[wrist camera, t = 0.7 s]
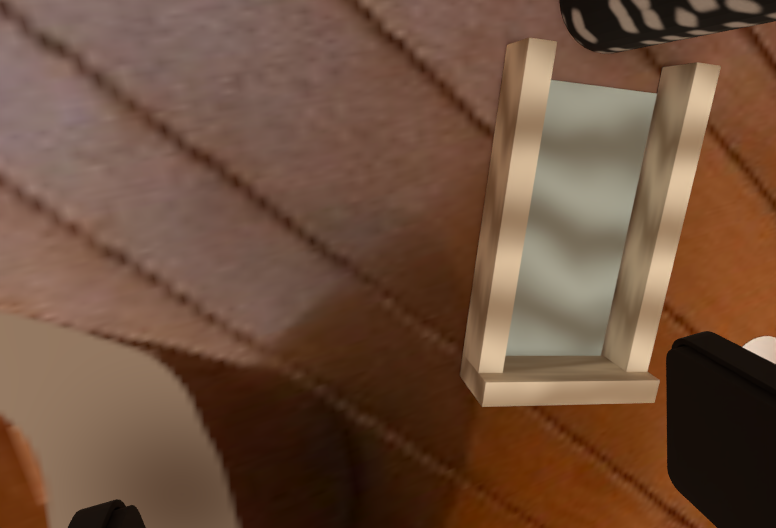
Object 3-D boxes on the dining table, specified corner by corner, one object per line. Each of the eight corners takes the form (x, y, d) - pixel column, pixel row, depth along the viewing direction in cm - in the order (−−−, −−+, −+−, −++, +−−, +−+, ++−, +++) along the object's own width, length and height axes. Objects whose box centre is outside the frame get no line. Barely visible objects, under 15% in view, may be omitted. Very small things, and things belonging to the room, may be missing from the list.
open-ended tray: (506, 44, 37) (540, 33, 32) (684, 70, 40) (738, 63, 36) (459, 375, 43) (482, 406, 39) (616, 374, 47) (654, 402, 42)
